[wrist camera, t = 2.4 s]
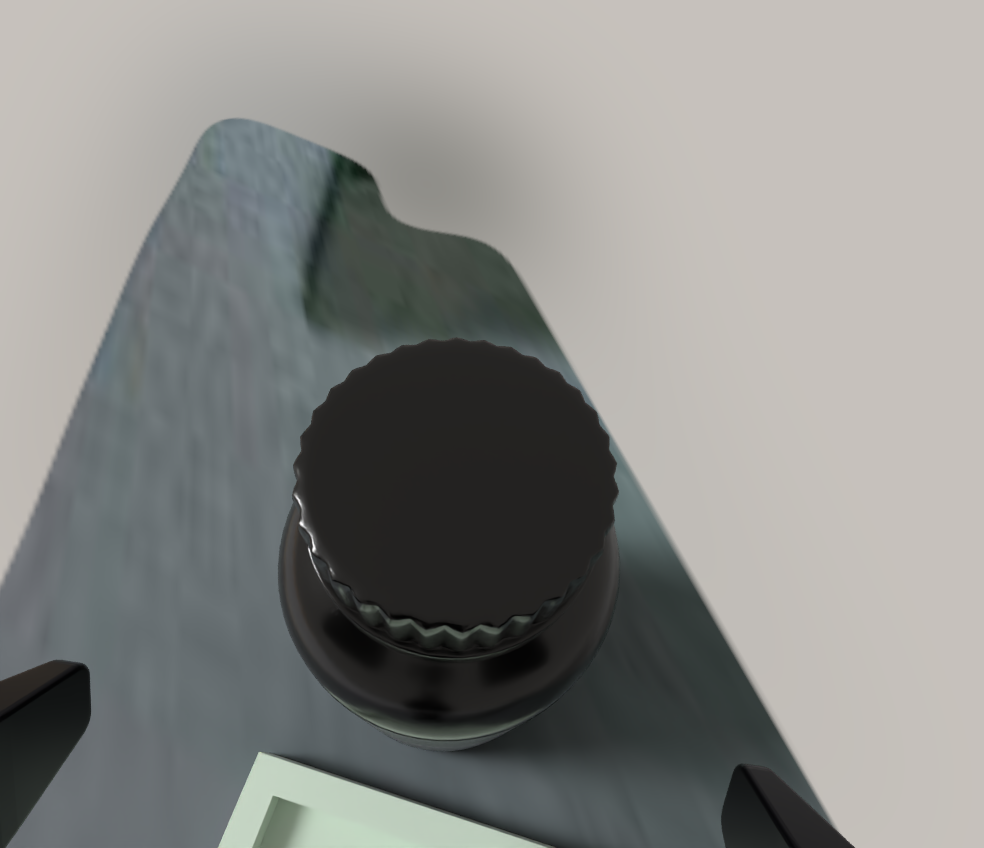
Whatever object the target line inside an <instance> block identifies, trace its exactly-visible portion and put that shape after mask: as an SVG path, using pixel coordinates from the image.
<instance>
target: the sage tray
mask: <svg viewBox="0 0 984 848" xmlns="http://www.w3.org/2000/svg"><path fill="white" fill-rule="evenodd" d="M218 848H556V847H553V846H550V845H547V844H544V843H541V842H538V841H535V840H532V839H529V838H526V837H523V836H520V835H517V834H514V833H510V832H507V831H504V830H501V829H498V828H495V827H492V826H489V825H486V824H483V823H480V822H477V821H474V820H471V819H468V818H465V817H462V816H459V815H456V814H453V813H450V812H447V811H444V810H441V809H438V808H435V807H432V806H429V805H426V804H423V803H420V802H417V801H414V800H411V799H408V798H405V797H402V796H399V795H396V794H393V793H390V792H387V791H384V790H381V789H378V788H375V787H372V786H369V785H366V784H362V783H359V782H356V781H353V780H350V779H347V778H344V777H341V776H338V775H335V774H332V773H329V772H326V771H323V770H320V769H317V768H314V767H311V766H308V765H305V764H302V763H299V762H296V761H293V760H290V759H287V758H284V757H281V756H278V755H275V754H272V753H265V752H259V753H258V756H257V758H256V760H255V763H254V765H253V767H252V770H251V772H250V774H249V777H248V779H247V781H246V784H245V786H244V788H243V791H242V793H241V795H240V798H239V800H238V802H237V805H236V807H235V810H234V812H233V814H232V817H231V819H230V821H229V824H228V826H227V828H226V831H225V833H224V835H223V838H222V840H221V842H220V845H219V847H218Z"/></svg>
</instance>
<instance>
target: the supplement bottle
mask: <svg viewBox="0 0 984 848" xmlns="http://www.w3.org/2000/svg"><path fill="white" fill-rule="evenodd" d="M300 444H301V452H300V454H299V456H298V457H297V458H296V460H295V462H294V464H293V469H294V473H295V477H296V479H297V483H296V485H295V487H294V490H293V494H292V499H293V504H292V507H291V509H290V512H289V514H288V517H287V520H286V523H285V527H284V530H283V534H282V539H281V544H280V550H279V561H278V586H279V594H280V602H281V606H282V611H283V615H284V619H285V622H286V625H287V628H288V631H289V633H290V636H291V638H292V640H293V642H294V644H295V646H296V649H297V651H298V652H299V654H300V656H301V657H302V659H303V660H304V662H305V664H306V665H307V667H308V668H309V670H310V671H311V672H312V674H313V675H314V676H315V678H316V679H317V680H318V681H319V683H320V684H321V685H322V686H323V687H324V688H325V689H326V690H327V691H328V692H329V693H330V694H331V695H332V696H333V697H334V698H335V699H336V700H337V701H338V702H339V703H341V704H342V705H343V706H344V707H346V708H347V709H348V710H349V711H351V712H352V713H354V714H355V715H357V716H358V717H359V718H361V719H362V720H364V721H365V722H367V723H368V724H370V725H371V726H373V727H374V728H376V729H377V730H379V731H380V732H382V733H383V734H385V735H387V736H388V737H390V738H392V739H394V740H396V741H398V742H400V743H403V744H405V745H408V746H411V747H415V748H419V749H423V750H430V751H456V750H463V749H467V748H472V747H475V746H478V745H481V744H484V743H486V742H489V741H491V740H493V739H495V738H497V737H499V736H501V735H503V734H505V733H506V732H508V731H510V730H512V729H514V728H516V727H518V726H519V725H521V724H523V723H525V722H527V721H528V720H530V719H532V718H533V717H535V716H537V715H538V714H540V713H541V712H543V711H544V710H546V709H547V708H548V707H549V706H551V705H552V704H553V703H555V702H556V701H557V700H558V699H559V698H560V697H561V696H563V695H564V694H565V693H566V692H567V691H568V690H569V689H570V688H571V687H572V686H573V685H574V683H575V682H576V681H577V680H578V679H579V678H580V676H581V675H582V674H583V673H584V672H585V670H586V669H587V668H588V666H589V665H590V663H591V662H592V660H593V659H594V657H595V656H596V654H597V652H598V650H599V648H600V647H601V645H602V643H603V641H604V639H605V636H606V634H607V631H608V629H609V627H610V624H611V621H612V617H613V614H614V610H615V606H616V601H617V596H618V589H619V577H620V557H619V548H618V541H617V536H616V531H615V527H614V521H615V519H614V510H613V505H614V503H615V501H616V499H617V497H618V494H619V490H618V487H617V484H616V482H615V479H614V474H615V471H616V465H617V462H616V461H615V459H614V457H613V455H612V454H611V452H610V450H609V435H608V434H607V433H606V432H605V430H603V429H602V427H601V426H600V425H599V419H598V415H597V412H596V411H595V410H594V409H593V408H592V407H590V406H589V405H588V404H587V403H585V401H584V398H583V396H582V394H581V392H580V390H578V389H577V388H575V387H574V386H571V385H570V384H568V383H567V382H566V381H565V379H564V378H563V376H562V375H561V374H560V372H558V371H555V370H553V369H549V368H547V367H545V366H544V365H543V364H542V362H540V361H539V360H538V359H537V358H535V357H531V356H525V355H522V354H521V353H519V352H518V351H517V350H515V349H513V348H512V347H506V346H496V345H494V344H492V343H490V342H487V341H485V340H479V341H468V340H465V339H461V338H457V337H456V338H452V339H449V340H445V341H440V340H434V339H428V340H426V341H423V342H421V343H419V344H417V345H402V346H400V347H398V348H397V349H395V350H394V351H393V352H391V353H387V354H382V355H377V356H375V357H374V358H373V359H372V360H371V361H370V362H369V363H368V364H367V365H365V366H363V367H359V368H356V369H354V370H352V371H351V372H350V373H349V375H348V376H347V378H346V379H345V381H344V382H342V383H341V384H338V385H336V386H334V387H333V388H331V389H330V391H329V394H328V396H327V399H326V401H325V402H324V403H323V404H322V405H320V406H318V407H317V408H316V409H315V410H314V411H313V415H312V420H311V425H310V426H309V427H308V428H307V429H306V430H305V431H304V433H303V434H302V435H301V437H300Z"/></svg>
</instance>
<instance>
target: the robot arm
mask: <svg viewBox="0 0 984 848" xmlns="http://www.w3.org/2000/svg"><path fill="white" fill-rule="evenodd" d="M90 716H91V695H90V673H89V669H88V667H87V666H86V665H85V664H83V663H78V662H72V661H65V660H53V661H50V662H47V663H45V664H42V665H40V666H37V667H35V668H32V669H30V670H27V671H25V672H22V673H20V674H17V675H15V676H12V677H10V678H7V679H5V680H2V681H0V848H6V846H7V845H8V843H9V842H10V841H11V839H12V838H13V836H14V835H15V834H16V832H17V831H18V829H19V828H20V827H21V825H22V824H23V822H24V821H25V819H26V818H27V816H28V815H29V813H30V812H31V810H32V809H33V807H34V806H35V804H36V803H37V802H38V800H39V799H40V797H41V796H42V794H43V793H44V791H45V790H46V788H47V787H48V785H49V784H50V782H51V781H52V780H53V778H54V777H55V775H56V774H57V772H58V771H59V769H60V768H61V766H62V765H63V763H64V762H65V760H66V759H67V757H68V756H69V755H70V753H71V752H72V750H73V749H74V747H75V746H76V744H77V743H78V741H79V740H80V738H81V737H82V735H83V734H84V732H85V730H86V728H87V726H88V724H89V721H90ZM721 825H722V832H723V837H724V842H725V847H726V848H855V847H854V846H853V845H851V844H850V843H849V842H848V841H847V840H846V839H845V838H844V837H843V836H842V835H841V834H840V833H839V832H838V831H837V830H835V829H834V828H833V827H832V826H831V825H830V824H829V823H828V822H827V821H826V820H825V819H824V818H823V817H821V816H820V815H819V814H818V813H817V812H816V811H815V810H814V809H813V808H812V807H811V806H810V805H809V804H808V803H806V802H805V801H804V800H803V799H802V798H801V797H800V796H799V795H798V794H797V793H796V792H795V791H794V790H793V789H791V788H790V787H789V786H788V785H787V784H786V783H785V782H784V781H783V780H782V779H781V778H780V777H779V776H778V775H776V774H775V773H774V772H773V771H772V770H770V769H769V768H766V767H762V766H755V765H749V764H739V765H737V766H736V768H735V769H734V771H733V774H732V778H731V781H730V784H729V788H728V791H727V795H726V798H725V802H724V805H723V809H722V815H721Z"/></svg>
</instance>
